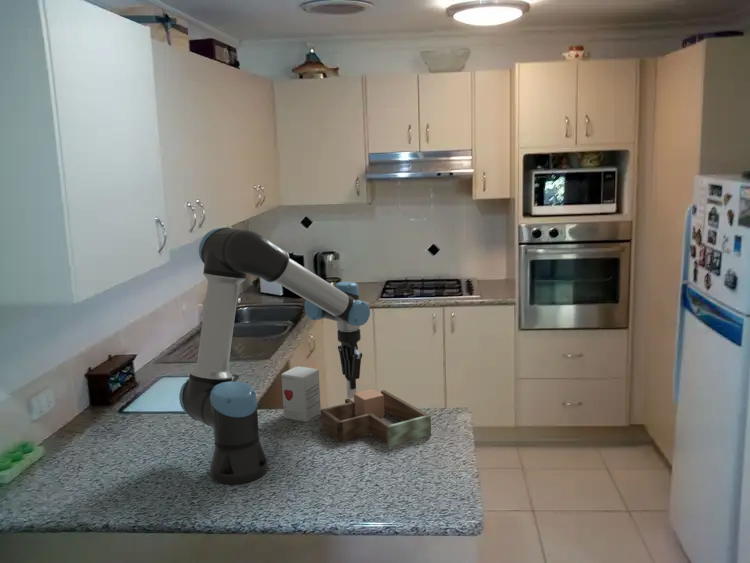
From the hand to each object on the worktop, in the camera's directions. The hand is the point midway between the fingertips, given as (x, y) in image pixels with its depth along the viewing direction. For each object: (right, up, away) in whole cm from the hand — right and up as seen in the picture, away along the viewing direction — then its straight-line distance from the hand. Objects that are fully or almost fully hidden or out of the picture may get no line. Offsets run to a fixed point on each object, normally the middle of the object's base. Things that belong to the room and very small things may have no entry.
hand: (351, 397), depth 227 cm
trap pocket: (-1, -7, -21) cm, 22 cm away
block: (+6, -4, -9) cm, 12 cm away
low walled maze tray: (+11, -6, -19) cm, 23 cm away
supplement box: (-16, -5, -8) cm, 18 cm away
